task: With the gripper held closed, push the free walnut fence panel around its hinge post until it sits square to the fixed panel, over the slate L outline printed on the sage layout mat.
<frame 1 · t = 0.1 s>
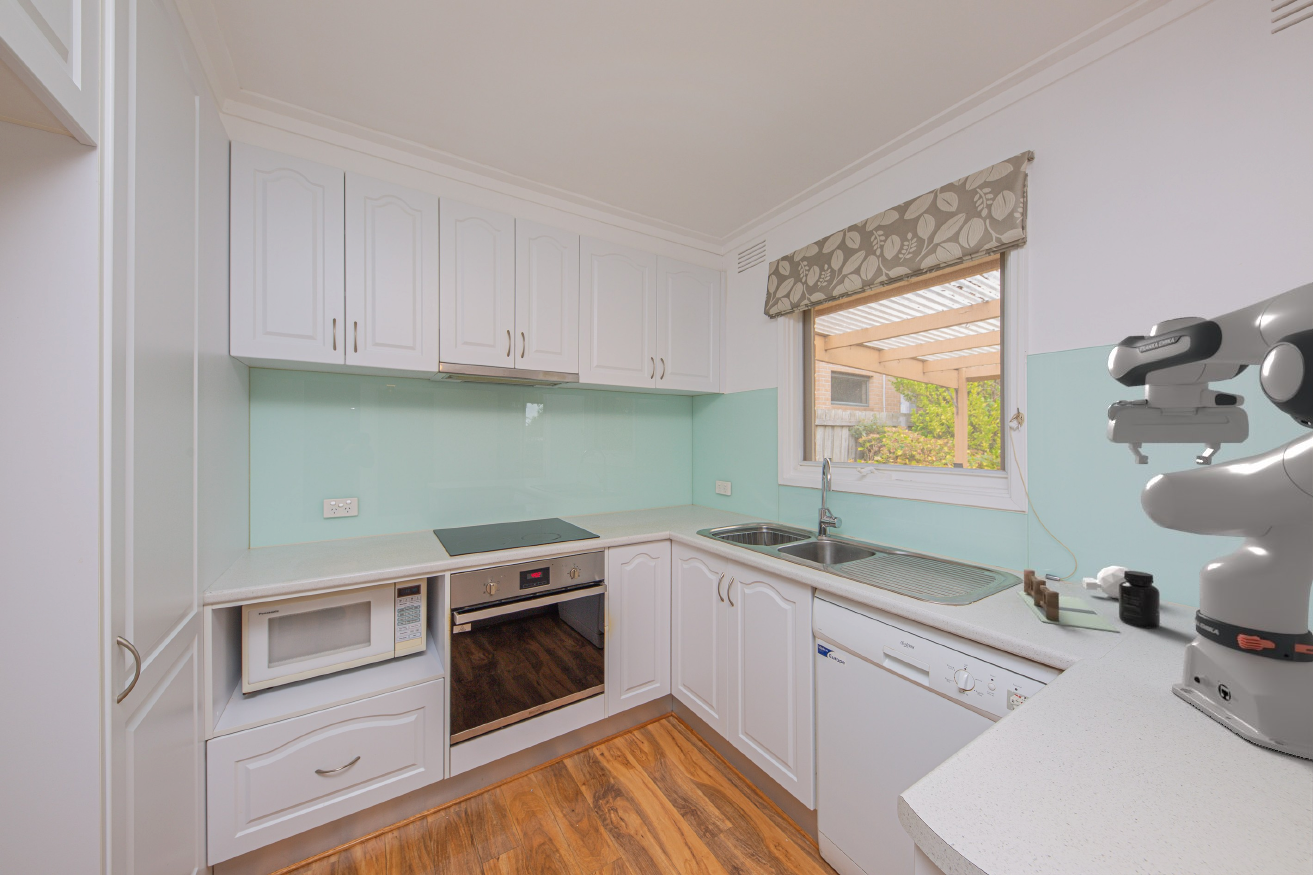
hand: (1171, 464, 97), 39 cm above the countertop, fingers open, 8 cm apart
layout mat: (1062, 609, 119), on the countertop
perfume bottle: (1111, 597, 129), on the countertop
fence fixed: (1040, 607, 121), resting on layout mat
fence gate: (1032, 584, 127), point 4 cm above the countertop, hinge at 0.0°
supplement bottle: (1138, 624, 111), on the countertop
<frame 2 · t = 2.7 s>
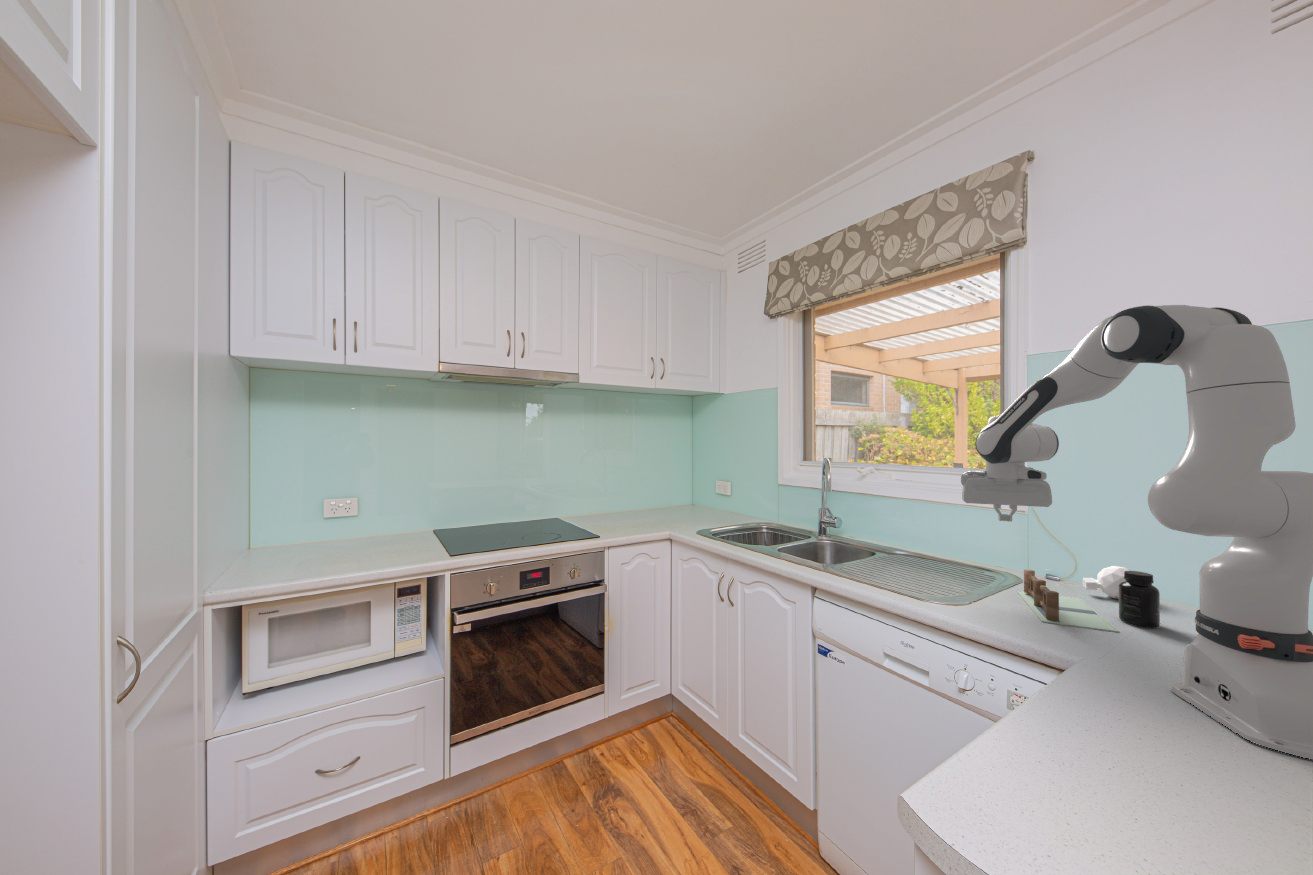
hand: (1005, 520, 130), 21 cm above the countertop, fingers closed
nothing on the countertop moved.
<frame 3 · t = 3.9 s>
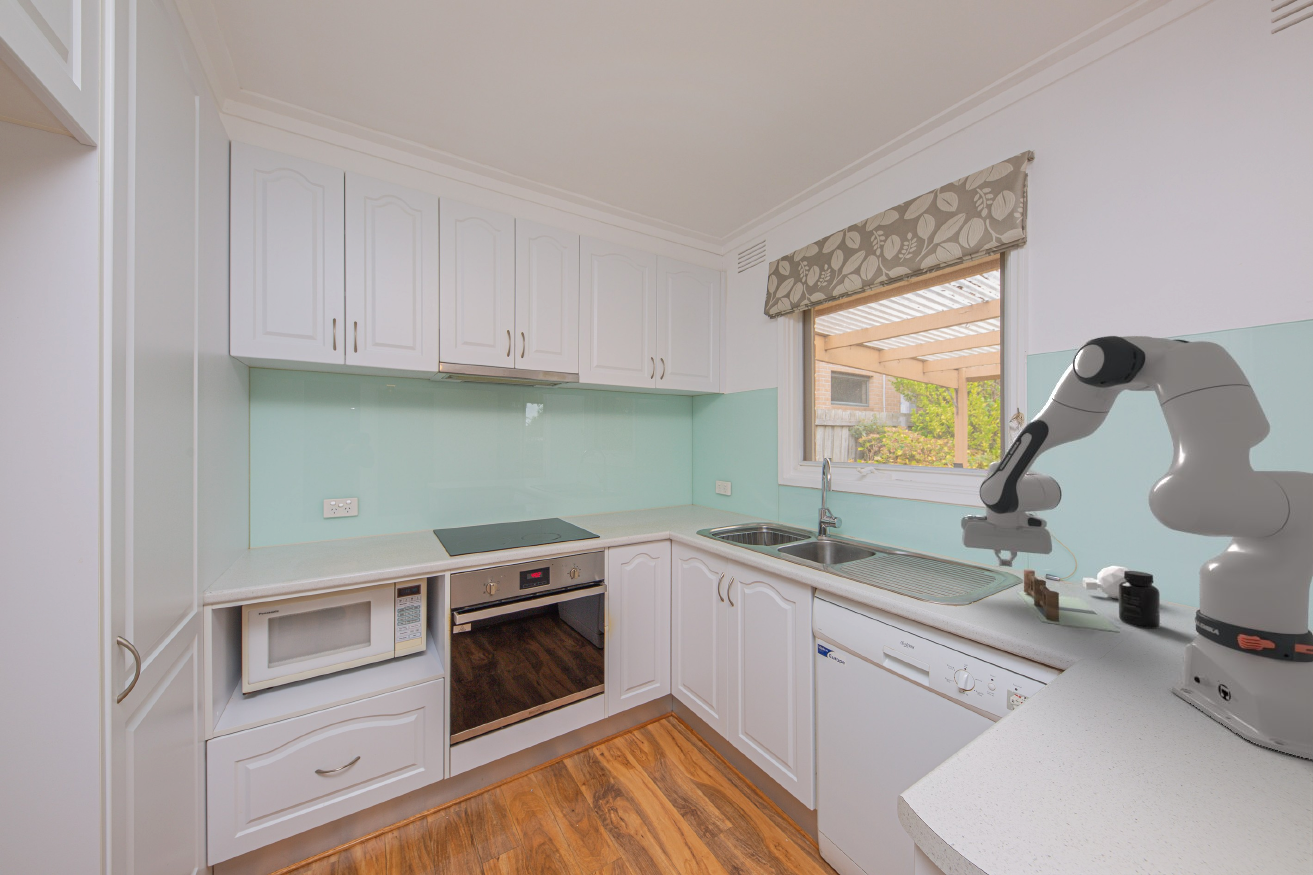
hand: (1005, 565, 131), 8 cm above the countertop, fingers closed
nothing on the countertop moved.
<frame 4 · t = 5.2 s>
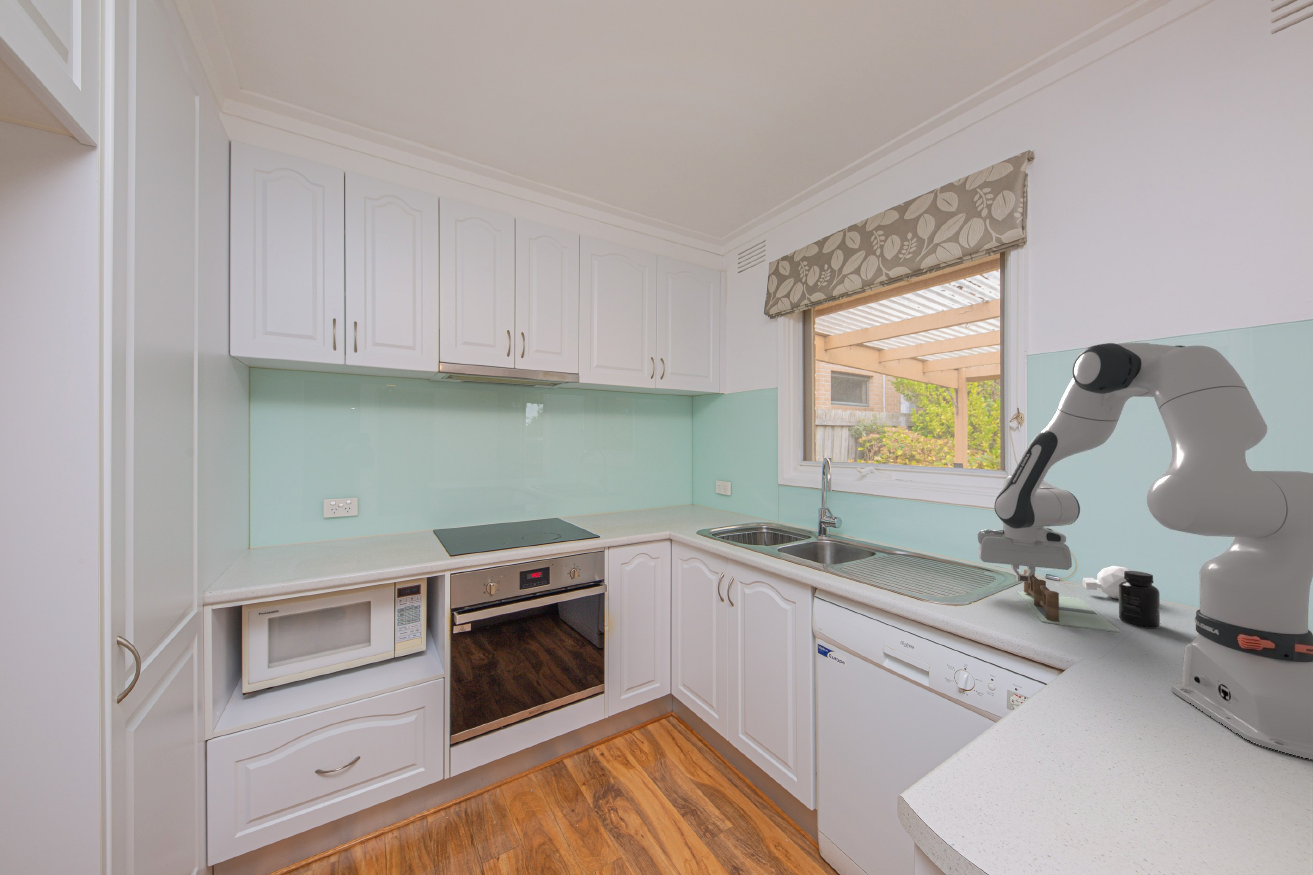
hand: (1023, 581, 128), 5 cm above the countertop, fingers closed
fence gate: (1032, 584, 127), point 4 cm above the countertop, hinge at 0.0°, touching gripper
everything else where it was.
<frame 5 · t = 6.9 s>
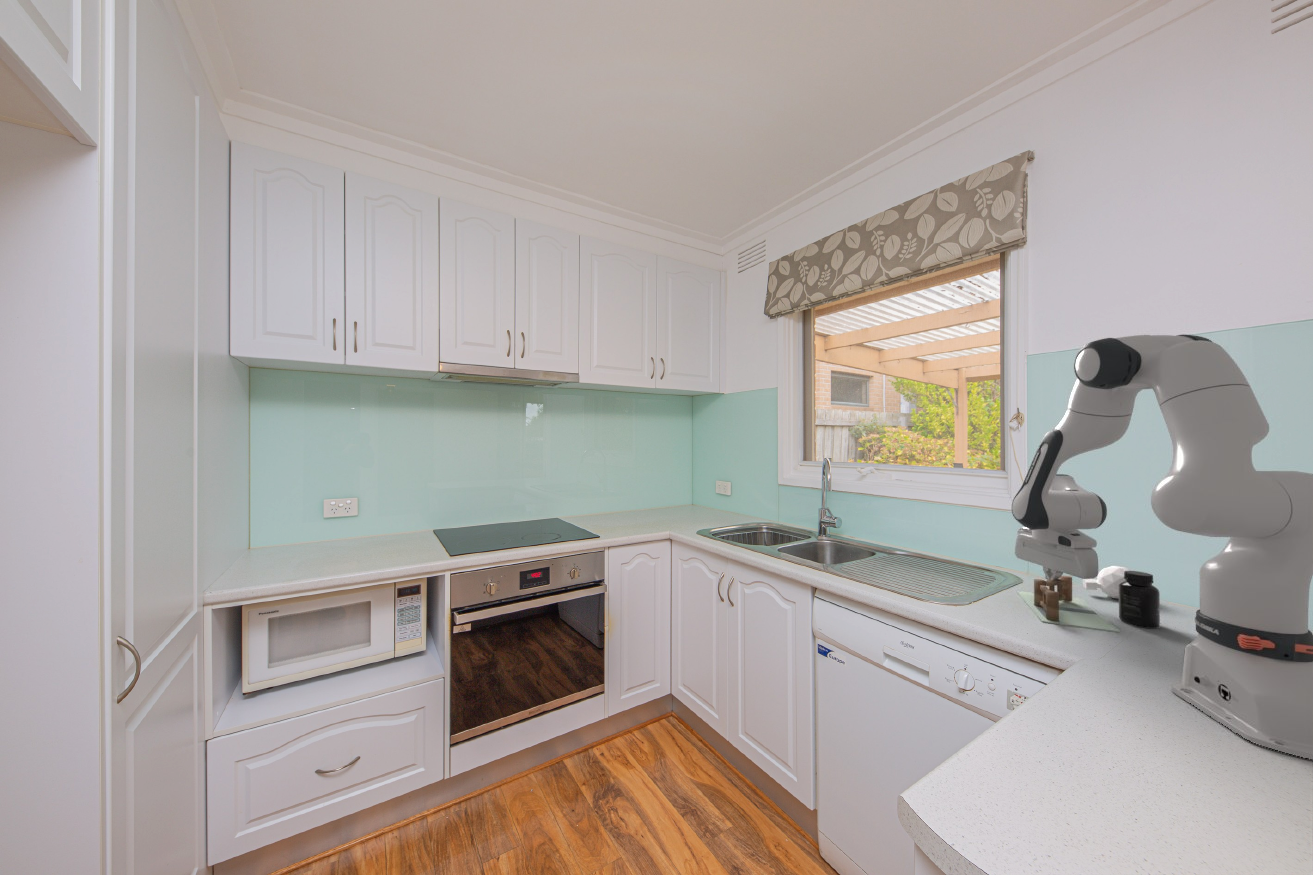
hand: (1052, 584, 125), 5 cm above the countertop, fingers closed, pressing on fence gate
fence gate: (1057, 589, 123), point 4 cm above the countertop, hinge at 46.3°, touching gripper
everything else where it was.
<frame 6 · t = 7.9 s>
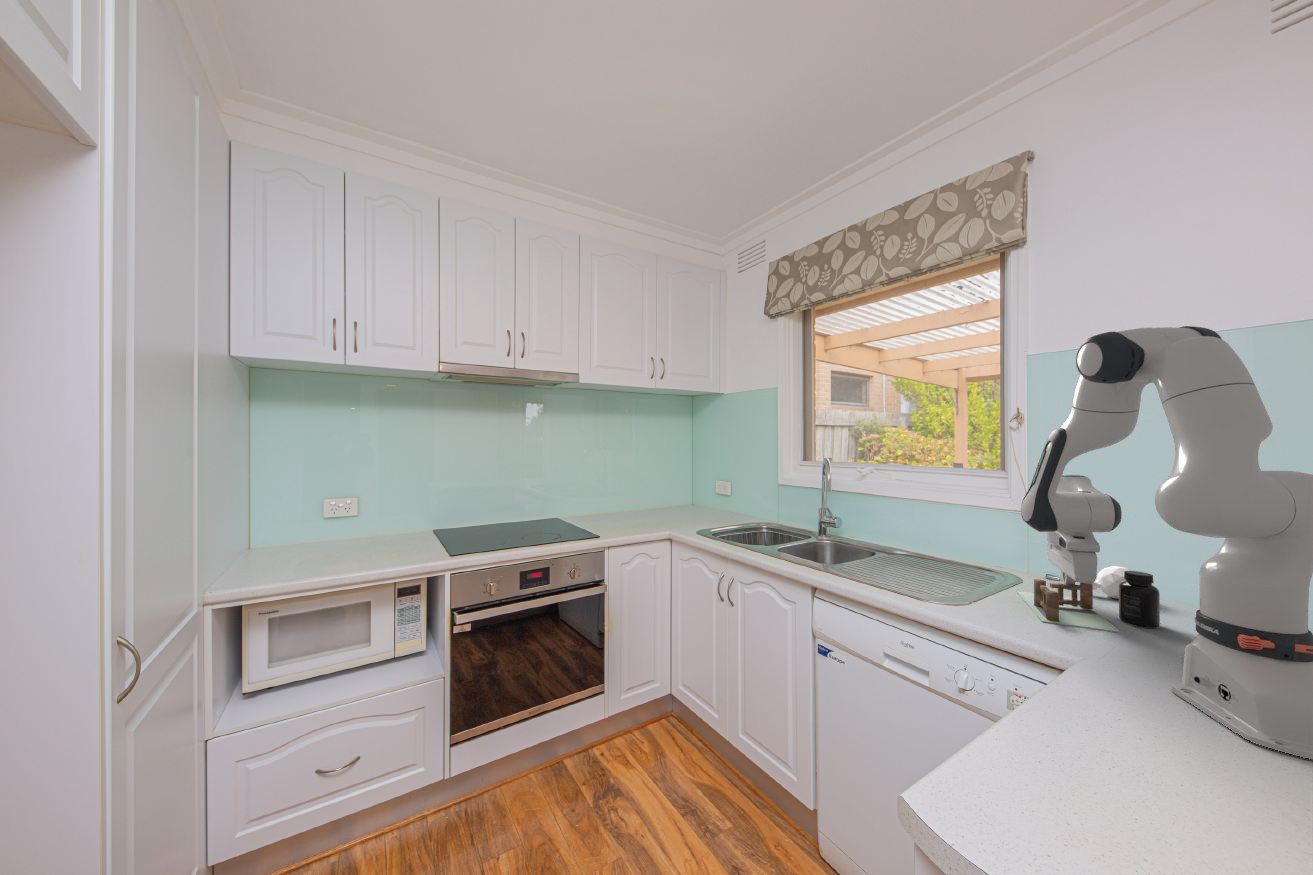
hand: (1068, 589, 121), 5 cm above the countertop, fingers closed, pressing on fence gate
fence gate: (1071, 594, 119), point 4 cm above the countertop, hinge at 79.5°, touching gripper
everything else where it was.
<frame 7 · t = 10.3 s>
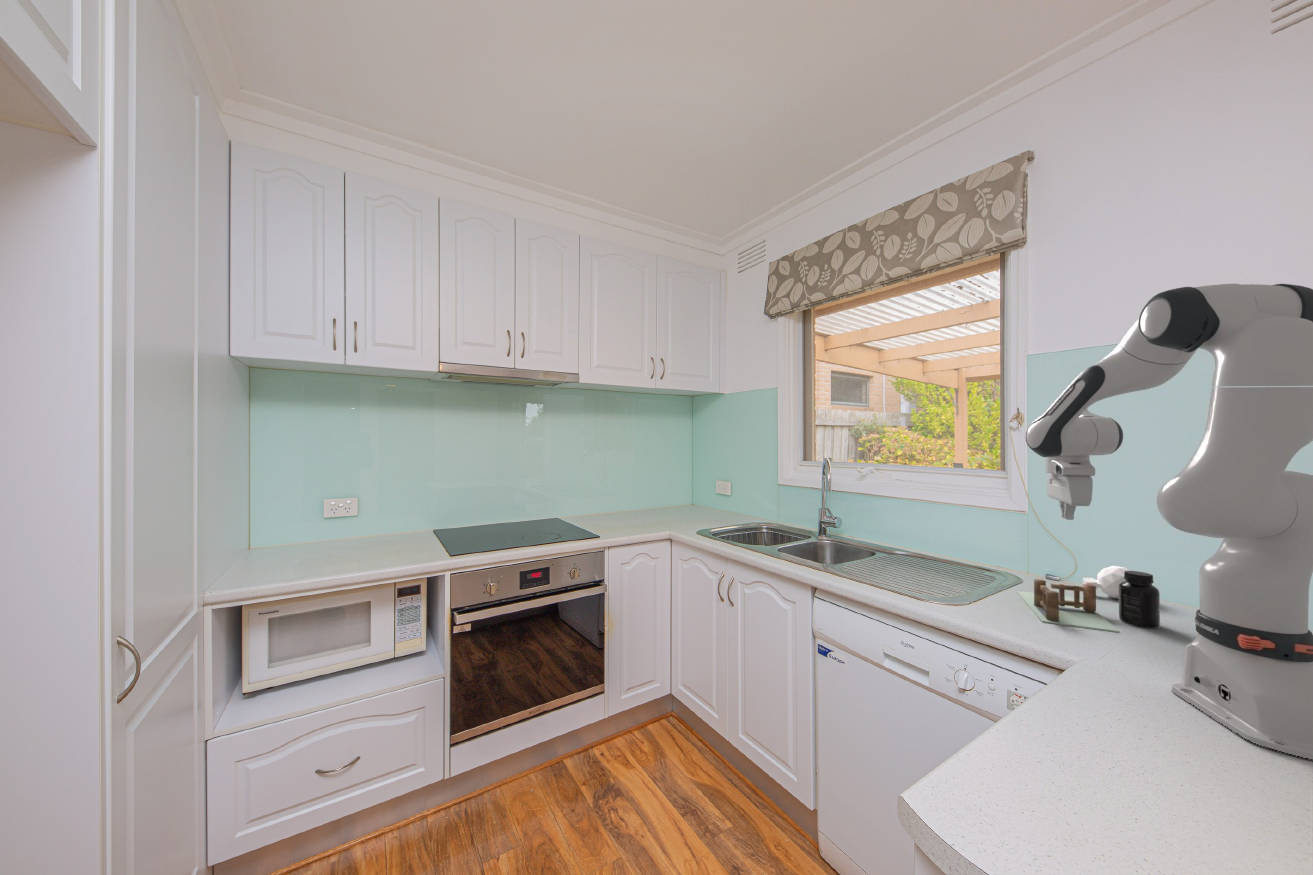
hand: (1067, 518, 123), 23 cm above the countertop, fingers closed
fence gate: (1073, 595, 118), point 4 cm above the countertop, hinge at 88.4°
everything else where it was.
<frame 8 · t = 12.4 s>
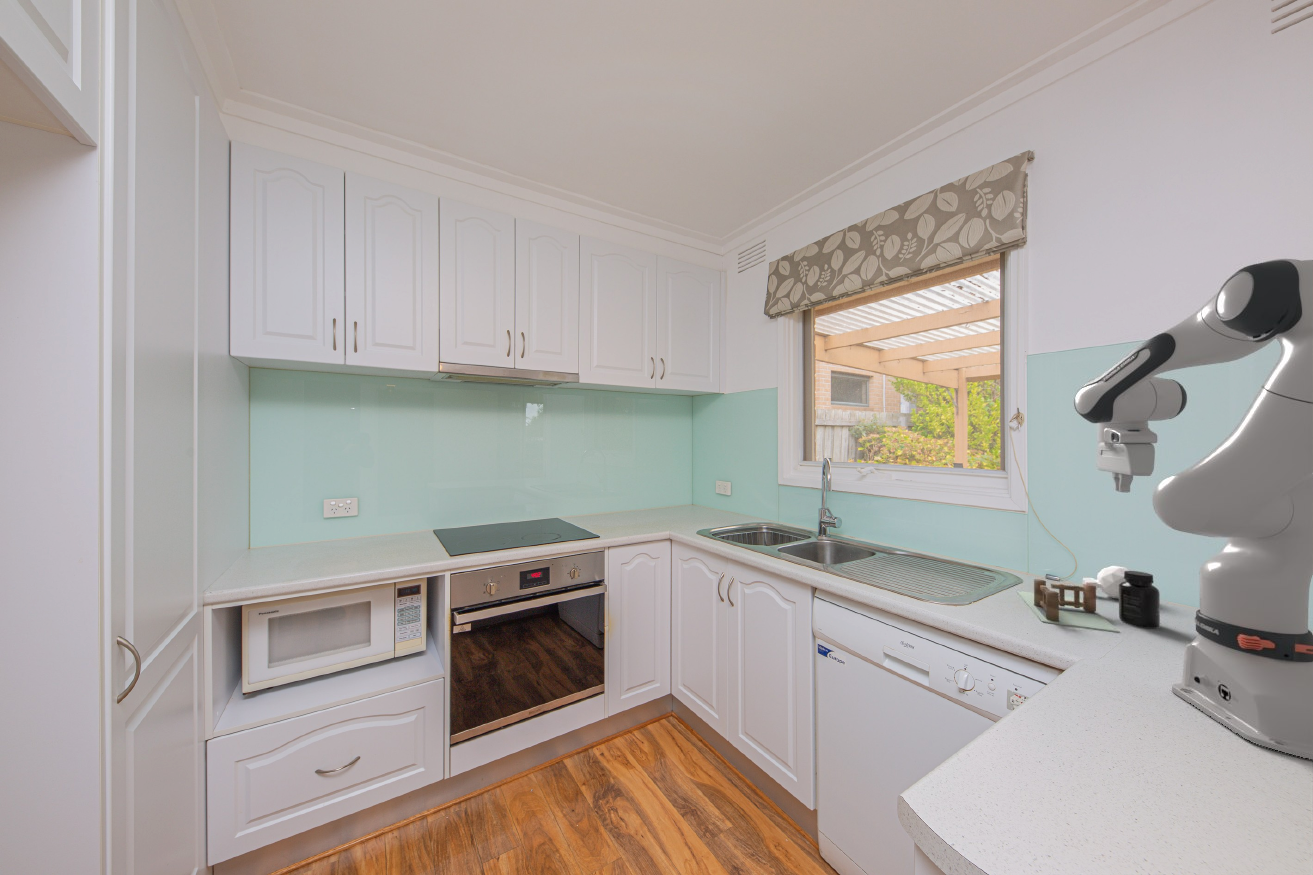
hand: (1122, 491, 113), 31 cm above the countertop, fingers closed
nothing on the countertop moved.
at the end: fence gate at +88° (first picture: +0°); the gripper is holding nothing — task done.
